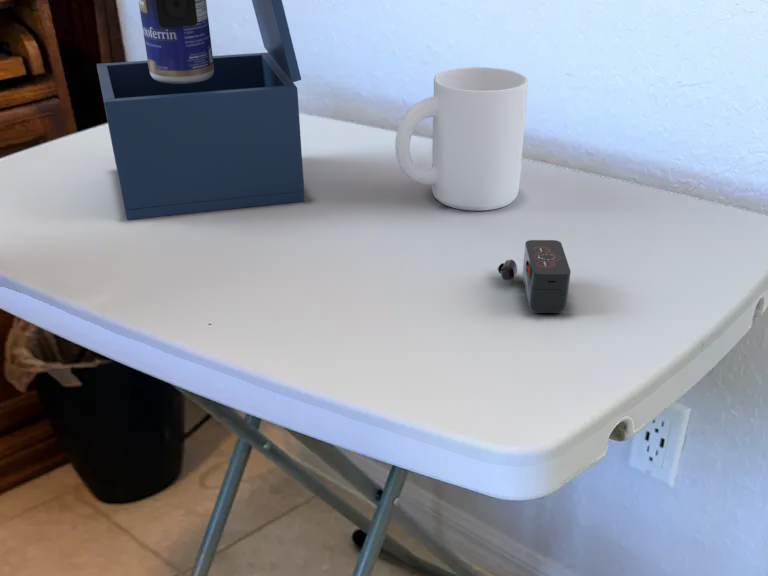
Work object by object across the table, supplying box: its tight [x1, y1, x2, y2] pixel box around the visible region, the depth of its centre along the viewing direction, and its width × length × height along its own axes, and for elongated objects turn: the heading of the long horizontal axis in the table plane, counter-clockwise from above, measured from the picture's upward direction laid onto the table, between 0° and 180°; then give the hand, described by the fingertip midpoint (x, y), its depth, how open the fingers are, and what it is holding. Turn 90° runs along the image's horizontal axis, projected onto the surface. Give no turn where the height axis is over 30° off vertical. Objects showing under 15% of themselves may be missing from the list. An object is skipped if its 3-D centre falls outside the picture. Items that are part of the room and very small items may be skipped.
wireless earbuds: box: [497, 239, 572, 314], centre depth 71 cm, size 5×7×3 cm, turn 0°
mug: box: [394, 66, 529, 212], centre depth 84 cm, size 12×8×10 cm
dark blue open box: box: [96, 51, 306, 221], centre depth 87 cm, size 16×13×10 cm
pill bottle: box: [137, 0, 214, 84], centre depth 80 cm, size 6×6×10 cm
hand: (173, 15), depth 80 cm, fingers closed on pill bottle, 5 cm apart
